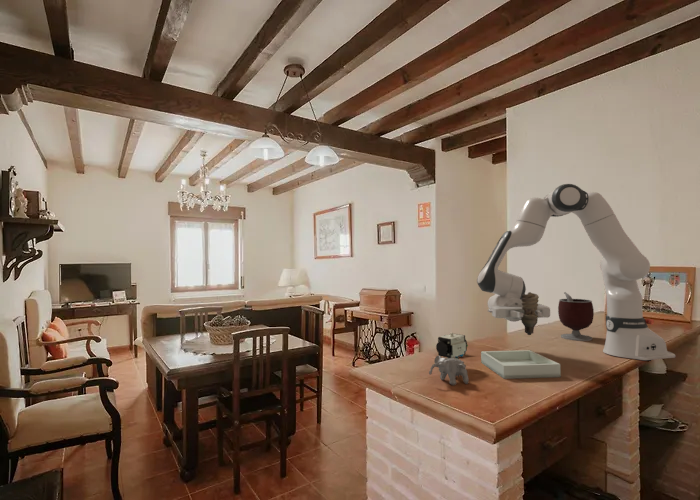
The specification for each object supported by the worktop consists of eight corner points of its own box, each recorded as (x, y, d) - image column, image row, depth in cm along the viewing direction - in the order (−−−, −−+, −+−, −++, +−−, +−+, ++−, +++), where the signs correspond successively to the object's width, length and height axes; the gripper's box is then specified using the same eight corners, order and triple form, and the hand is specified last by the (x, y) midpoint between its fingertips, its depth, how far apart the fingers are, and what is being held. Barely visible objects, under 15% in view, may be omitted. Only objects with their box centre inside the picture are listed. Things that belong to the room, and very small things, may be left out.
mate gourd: (601, 341, 167) (600, 295, 167) (569, 341, 167) (568, 295, 168) (580, 333, 183) (579, 291, 183) (551, 334, 183) (550, 292, 183)
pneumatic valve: (436, 370, 128) (435, 334, 128) (456, 363, 135) (455, 329, 136) (449, 374, 124) (449, 336, 124) (470, 366, 131) (469, 331, 131)
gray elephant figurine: (473, 383, 115) (473, 357, 116) (449, 390, 108) (449, 363, 108) (447, 377, 122) (448, 352, 123) (423, 383, 115) (423, 357, 115)
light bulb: (538, 334, 136) (537, 291, 136) (540, 337, 130) (539, 293, 131) (520, 333, 138) (520, 291, 138) (522, 336, 132) (521, 292, 133)
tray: (530, 361, 137) (530, 350, 137) (560, 377, 119) (560, 364, 119) (481, 362, 136) (481, 351, 136) (503, 378, 118) (503, 365, 118)
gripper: (485, 301, 147) (501, 306, 133) (537, 300, 147) (558, 305, 134) (485, 318, 147) (501, 324, 133) (538, 317, 147) (559, 323, 134)
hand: (530, 315), depth 133 cm, fingers closed on light bulb, 5 cm apart
